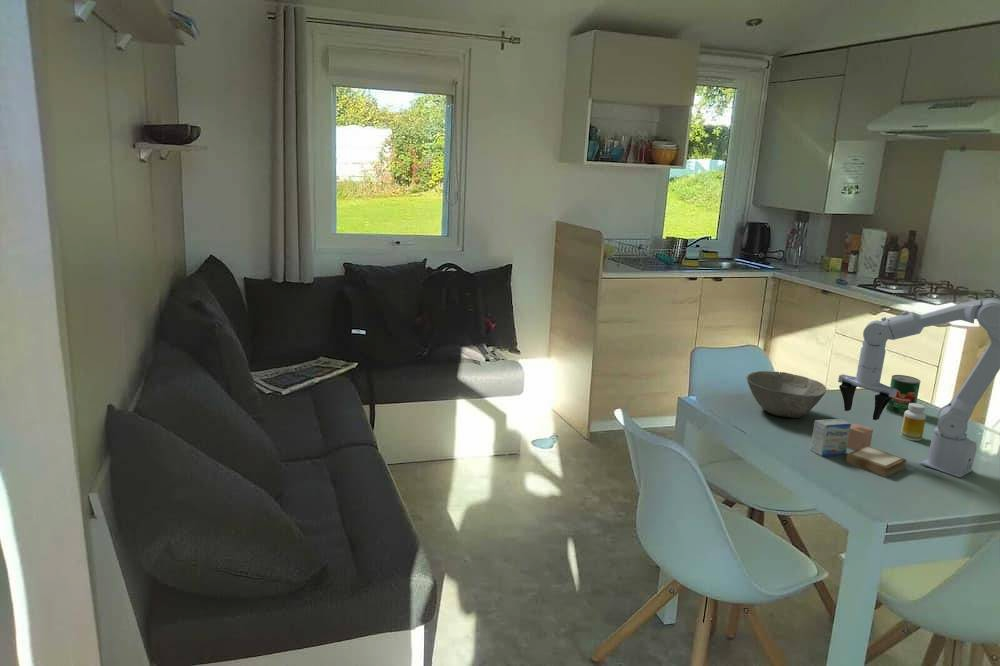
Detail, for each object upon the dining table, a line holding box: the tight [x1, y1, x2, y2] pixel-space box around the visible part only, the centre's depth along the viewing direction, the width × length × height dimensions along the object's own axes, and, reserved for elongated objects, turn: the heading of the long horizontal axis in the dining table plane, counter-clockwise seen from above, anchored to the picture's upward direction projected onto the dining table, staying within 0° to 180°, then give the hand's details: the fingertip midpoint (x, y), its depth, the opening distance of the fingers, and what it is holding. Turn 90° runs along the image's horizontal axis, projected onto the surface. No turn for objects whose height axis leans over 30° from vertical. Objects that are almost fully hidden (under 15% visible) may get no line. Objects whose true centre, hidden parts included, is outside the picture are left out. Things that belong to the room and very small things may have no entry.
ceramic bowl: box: [745, 370, 827, 419], centre depth 214 cm, size 22×23×10 cm
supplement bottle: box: [899, 402, 927, 442], centre depth 200 cm, size 5×5×10 cm
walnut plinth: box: [845, 446, 907, 478], centre depth 180 cm, size 10×10×2 cm
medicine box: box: [809, 418, 852, 457], centre depth 187 cm, size 8×4×9 cm, turn 105°
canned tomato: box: [885, 374, 921, 417], centre depth 220 cm, size 8×8×11 cm
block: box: [847, 423, 874, 451], centre depth 191 cm, size 5×5×6 cm
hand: (861, 414), depth 190 cm, fingers open, 7 cm apart
